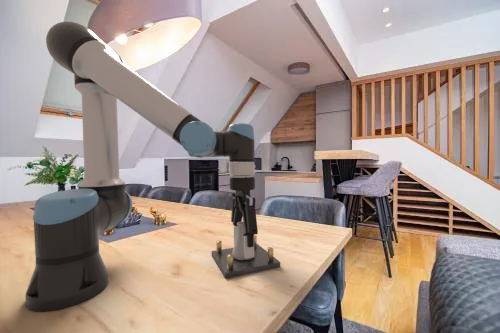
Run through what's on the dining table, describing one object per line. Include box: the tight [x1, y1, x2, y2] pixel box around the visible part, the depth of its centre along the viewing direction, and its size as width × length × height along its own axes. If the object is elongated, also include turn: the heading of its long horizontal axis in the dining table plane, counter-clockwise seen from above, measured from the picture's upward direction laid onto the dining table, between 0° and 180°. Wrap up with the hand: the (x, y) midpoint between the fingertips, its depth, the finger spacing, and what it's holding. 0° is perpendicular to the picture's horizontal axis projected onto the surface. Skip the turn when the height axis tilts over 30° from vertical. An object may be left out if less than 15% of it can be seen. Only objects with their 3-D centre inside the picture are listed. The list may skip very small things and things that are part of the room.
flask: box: [232, 221, 255, 260], centre depth 69 cm, size 7×7×10 cm
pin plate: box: [211, 234, 281, 280], centre depth 69 cm, size 16×16×5 cm
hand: (243, 251), depth 69 cm, fingers open, 9 cm apart
